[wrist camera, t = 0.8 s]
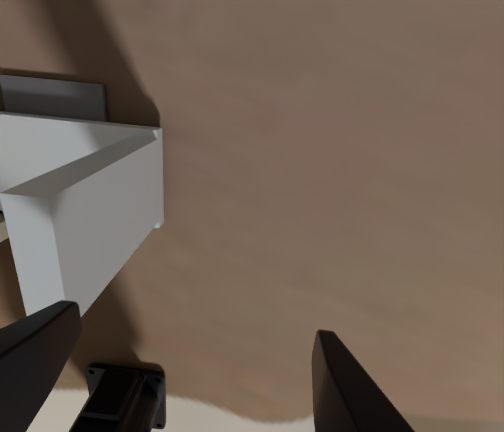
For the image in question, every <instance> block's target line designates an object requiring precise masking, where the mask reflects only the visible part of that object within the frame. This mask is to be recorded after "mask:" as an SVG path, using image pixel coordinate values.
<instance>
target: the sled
mask: <svg viewBox="0 0 504 432" xmlns="http://www.w3.org/2000/svg"><path fill="white" fill-rule="evenodd" d="M0 211H3V213H4V217H5V222H6V226H7V231H8V235H9V240H10V244H11V248H12V253H13V257H14V262H15V266H16V271H17V275H18V280H19V284H20V289H21V293H22V298H23V302H24V307H25V311H26V316H29V315H31V314H33V313H35V312H37V311H39V310H41V309H43V308H45V307H48V306H50V305H52V304H54V303H56V302H58V301H60V300H68V301H75V302H77V303H78V304H79V309H80V316H81V317H82V316H83V315H84V313H85V312H86V311H87V310H88V308H89V307H90V306H91V305H92V303H93V302H94V301H95V300H96V298H97V297H98V296H99V295H100V294H101V292H102V291H103V290H104V289H105V287H106V286H107V285H108V284H109V282H110V281H111V280H112V279H113V277H114V276H115V275H116V274H117V273H118V271H119V270H120V269H121V268H122V266H123V265H124V264H125V263H126V261H127V260H128V259H129V258H130V256H131V255H132V254H133V253H134V251H135V250H136V249H137V248H138V247H139V245H140V244H141V243H142V242H143V240H144V239H145V238H146V237H147V235H148V234H149V233H150V232H151V230H152V229H153V228H160V227H161V226H162V224H163V223H164V204H163V150H162V128H159V127H149V126H139V125H130V124H120V123H110V122H100V121H90V120H80V119H71V118H61V117H51V116H41V115H31V114H21V113H12V112H2V111H0Z"/></svg>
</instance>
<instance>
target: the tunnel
mask: <svg viewBox="0 0 504 432" xmlns="http://www.w3.org/2000/svg"><path fill="white" fill-rule="evenodd" d="M0 84H1V89H2V94H3V100H4V105H5V110H6V112H12V113H21V114H31V115H41V116H51V117H61V118H71V119H80V120H90V121H100V122H107V110H106V98H105V86H104V84H95V83H85V82H74V81H64V80H54V79H44V78H34V77H23V76H13V75H3V74H0ZM8 237H9V235H8V231H7V226H6V222H5V217H4V214H0V242H2V241H3V240H5V239H7V238H8Z"/></svg>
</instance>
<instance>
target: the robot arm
mask: <svg viewBox="0 0 504 432" xmlns="http://www.w3.org/2000/svg"><path fill="white" fill-rule="evenodd" d="M81 330H82V322H81V316H80V309H79V304H78V303H77V302H75V301H68V300H60V301H58V302H56V303H54V304H52V305H50V306H48V307H45V308H43V309H41V310H39V311H37V312H35V313H33V314H31V315H29V316H27V317H24V318H22V319H20V320H18V321H16V322H14V323H12V324H10V325H8V326H6V327H3V328H1V329H0V432H26V431H27V429H28V427H29V426H30V424H31V423H32V421H33V419H34V418H35V416H36V415H37V413H38V411H39V410H40V408H41V407H42V405H43V404H44V402H45V400H46V399H47V397H48V395H49V394H50V392H51V391H52V389H53V387H54V385H55V383H56V381H57V380H58V378H59V376H60V374H61V372H62V370H63V368H64V366H65V364H66V362H67V360H68V358H69V356H70V354H71V352H72V350H73V348H74V346H75V344H76V342H77V340H78V338H79V336H80V333H81ZM86 377H87V384H88V390H89V398H88V399H87V401H86V403H85V405H84V406H83V408H82V410H81V411H80V413H79V415H78V416H77V418H76V420H75V422H74V423H73V425H72V427H71V428H70V430H69V432H151V430H152V428H155V429H163V428H164V427H165V424H166V388H165V375H164V374H163V373H162V372H157V371H149V370H141V369H133V368H125V367H117V366H109V365H102V364H94V363H93V364H89V365H88V367H87V368H86ZM312 384H313V412H314V424H315V432H415V431H414V430H413V429H412V428H411V426H410V425H409V424H408V423H407V421H406V420H405V419H404V418H403V416H402V415H401V414H400V413H399V411H398V410H397V409H396V408H395V407H394V405H393V404H392V403H391V402H390V400H389V399H388V398H387V397H386V395H385V394H384V393H383V392H382V391H381V389H380V388H379V387H378V386H377V384H376V383H375V382H374V381H373V379H372V378H371V377H370V376H369V374H368V373H367V372H366V371H365V370H364V368H363V367H362V366H361V365H360V363H359V362H358V361H357V360H356V358H355V357H354V356H353V355H352V354H351V352H350V351H349V350H348V349H347V347H346V346H345V345H344V344H343V342H342V341H341V340H340V339H339V338H338V336H337V335H336V334H335V333H334V332H333V331H328V330H318V331H317V333H316V337H315V342H314V347H313V352H312Z"/></svg>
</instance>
